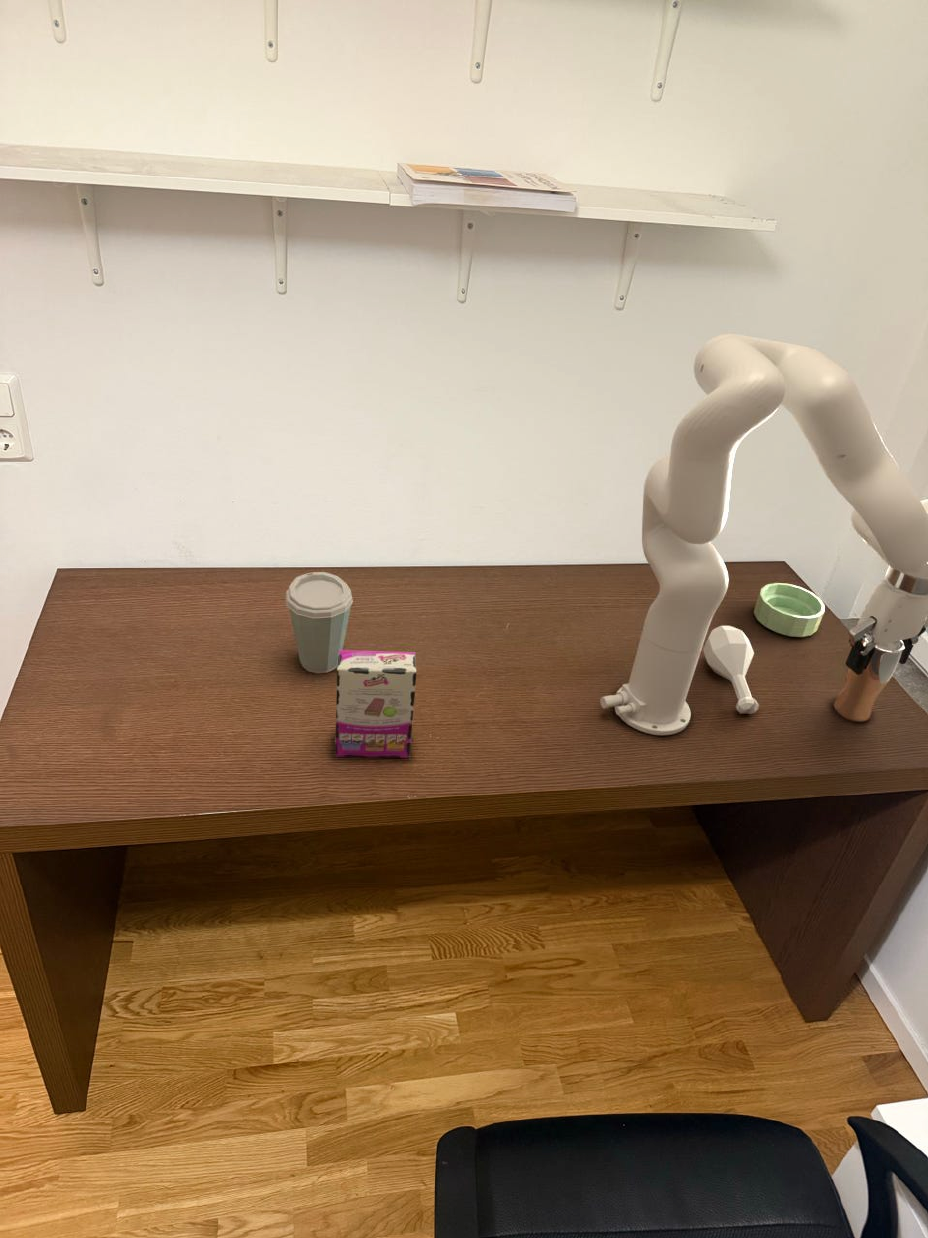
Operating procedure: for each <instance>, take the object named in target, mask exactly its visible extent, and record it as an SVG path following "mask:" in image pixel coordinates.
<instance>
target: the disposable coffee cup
mask: <svg viewBox="0 0 928 1238" xmlns="http://www.w3.org/2000/svg"><path fill="white" fill-rule="evenodd" d="M353 603H354V599H353V596H352V591H351V588H350V587H349V586H348V584H347V583H346V582H345V580H343V579H342V578H340V577H339V575H335V574H332V573H329V572H325V571H314V572H313V571H312V572H308V573H306V572H305V573H304V574H301V575H298V576H296V577H295V578H294V579H293V580H292V582H291V584H290V585H289V586H288V589H287V590H286V592H285V604H286V607H287V608H288V610H289V615H290V621H291V624H292V631H293V634H294V638H295V644H296V648H297V653H298V654H297V655H298V658H299V663H300V664H301V667H303V668H304V670H306V671H307V672H310V673H314V674H317V675H318V674H327V673H330V672H332V671H334V670H336V669H337V663H338V655H339V650H344V646H345V645H344V644H345V639H346V633H347V629H348V624H349V617H350V615H351V614H350V613H351V609H352V604H353Z"/></svg>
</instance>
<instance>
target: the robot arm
mask: <svg viewBox="0 0 928 1238" xmlns="http://www.w3.org/2000/svg"><path fill="white" fill-rule="evenodd" d="M693 375H694V378H695V380H696V383H697V385H698V386H699V387H700V389H701V391H703V392H704V393H705V394H706V396H704V397H703V398H701V400H700V401H698V402H697V403H696V404H695V405H694V406H693V407H692V408H691V409H690V410H689V411H688V412H687V413H686V414H685V415H684V416H683V417H682V418H681V420H680V421H679V423H678V424H677V426H676V428H675V430H674V433H673V435H672V439H671V444H670V452H669V453H667V454H664V455H662V456H661V457H660V458H659V459H657V460H656V461H655V463H654V464H653V465H652V466H651V468H650V469H649V471H648V472H647V475H646V478H645V480H644V484H643V485H644V486H643V493H642V494H643V495H642V516H641V517H642V519H641V520H642V521H641V546H642V547H641V548H642V551H643V555H644V557H645V559H646V561H647V563H648V565H649V567H650V569H651V570H652V572H653V573H654V576H655V579H656V580H657V583H658V586H659V591H658V594H657V597H656V598H655V599H654V601H653V602H652V603H651V605H650V606H649V608H648V610H647V613H646V615H645V619H644V623H643V627H642V630H641V634H640V638H639V639H640V640H639V642H638V646H637V650H636V653H635V657H634V661H633V664H632V668H631V672H630V675H629V679H628V683H623V684H622V686H621V687H620V688H619V689H618V690H617V691H616V693H615V694H610V695H604V696H601V697H600V699H599V704H600V706H601V708H602V709H603V710H605V709H609V708H614V712H615V714H616V715H617V716H618V717H619V718H620V719H621V720H622V721H623V722H624V723H626V724H627V725H628V726H629V727H631V728H633V729H635V730H637V731H640V732H642V733H645V734H649V735H653V736H670V735H675V734H678V733H680V732H682V731H684V730H685V729H686V728H687V726H688V725H689V723H690V720H691V715H692V712H691V708H690V707H689V704H688V703H687V701H686V700H687V697H688V694H689V691H690V687H691V684H692V682H693V678H694V675H695V671H696V669H697V665H698V662H699V659H700V656H701V652H702V651H703V648H704V643H705V640H706V637H707V634H708V631H709V628H710V625H711V622H712V621H713V618H714V616H715V614H716V612H717V610H718V608H719V607H720V605H721V603H722V601H724V598H725V596H726V594H727V591H728V588H729V573H728V570H727V566H726V564H725V561H724V560H723V558H722V556H721V554H719V552H718V551H717V549H716V548H715V546H714V545H713V544H712V541H713V540H715V539H716V538H717V537H718V536H719V535H720V534H721V533H722V531H723V529H724V527H725V525H726V523H727V519H728V513H729V504H730V493H731V492H730V491H731V485H732V484H731V483H732V482H731V481H732V473H733V464H734V459H735V455H736V451H737V448H738V447H739V445H740V443H741V442H742V441H743V440H744V438H745V437H747V435H748V434H750V433H751V432H752V431H754V430H755V429H757V428H758V427H759V426H761V425H762V424H764V423H765V422H766V421H768V420H769V419H770V418H771V417H772V416H773V415H774V414H775V413H776V412H777V410H778V409H779V408H780V407H781V406H782V407H783V408H784V409H786V410H787V411H788V412H789V413H790V414H791V415H792V417H793V418H794V420H795V421H796V423H797V425H798V426H799V428H800V431H801V432H802V434H803V436H804V438H805V439H806V441H807V442H808V445H809V446H810V448H811V449H812V452H813V454H814V456H815V457H816V460H817V462H818V464H819V466H820V468H821V469H822V471H823V473H824V475H825V477H826V478H827V479H828V480H829V481H830V483H831V485H832V486H833V487H834V488H835V489H836V491H837V493H839V494H840V495H841V496H842V497H843V498H844V499H845V501H847V503H849V505H850V506H851V507H852V510H851V514H850V523H851V526H852V528H853V530H854V531H855V533H856V534H857V535H858V536H859V538H860V539H861V540H862V541H864V543H865V544H866V545H867V546H868V547H869V548H871V550H873V551H874V553H876V554H877V556H878V557H879V558H880V559H881V560H882V561H883V562H884V563H885V564H886V565H887V566H888V569H887V571H886V574H885V576H884V579H883V580H881V581H880V582H879V584H878V585H877V586H876V588H875V589H874V590H873V593H872V594H871V596H870V598H869V600H868V601H867V603H866V605H865V607H864V609H863V611H862V613H861V616H860V618H859V620H858V622H857V624H856V626H854V627H852V628H851V629H850V630H848V636H849V637H848V638H849V639H848V643H849V644H850V647H851V648H850V651H849V653H848V656H847V658H846V660H845V666H846V667H847V668H848V667H849V668H850V669H851V670H852V671H853V672H855V673H856V674H857V675H860V674H862V672H863V670H864V667H865V665H866V663H867V660H868V658H869V655H868V654H867V653H868V652H869V651H871V650H872V649H873V648H874V647H875V646H876V645H877V644H887V643H891V642H896V641H900V640H901V641H902V642H903V644H904V649H903V651H902V654H901V657H900V660H899V663H898V664H901V665H905V664H907V661H908V659H909V657H910V654H911V652H912V650H913V648H914V645H916V644H917V643H918V642H919V637H921V635H923V634H924V633H925V632H926V630H927V628H926V627H928V499H924V500H921V499H920V498H919V496H918V494H917V493H916V492H915V489H914V488H913V487H912V485H911V484H910V482H909V480H907V478H906V476H905V475H904V472H903V471H902V470H901V468H900V466H899V464H898V463H897V461H896V460H895V458H894V456H893V455H892V453H891V452H890V451H889V449H888V448H887V446H886V444H885V443H884V440H883V439H882V437H881V434H880V433H879V430H878V428H877V427H876V424H875V422H874V420H873V417H872V415H871V413H870V412H869V410H868V407H867V405H866V403H865V401H864V399H863V396H862V394H861V392H860V390H859V388H858V387H857V384H856V382H855V380H854V379H853V378H852V376H851V375H850V374H849V372H847V371H846V370H845V369H844V368H843V367H841V365H839V364H838V363H836V362H834V360H832V359H831V358H829V357H828V356H826V354H824V353H822V352H821V351H819V350H818V349H815V348H812V347H810V346H805V345H800V344H794V343H789V342H783V341H778V340H773V339H767V338H761V337H756V336H751V335H745V334H740V333H739V334H738V333H724V334H720V335H716V336H715V337H713V338H710V340H708V341H706V342H705V343H704V344H703V345H702V346H701V347H700V349H699V350H698V351H697V353H696V356H695V358H694V363H693ZM871 631H872V632H873V636H874V637H875V638H873V637H872V636H871V635H869V633H870V632H871ZM865 638H867V639H869V640H870V642H869V643H868V644H867V645H866V646H864V645H863V643H862V641H863V640H864V639H865Z"/></svg>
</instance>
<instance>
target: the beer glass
mask: <svg viewBox="0 0 928 1238" xmlns="http://www.w3.org/2000/svg"><path fill="white" fill-rule="evenodd" d="M869 635H871V636H872V637H873V638H875V637H874V636H873V632H872V631H871V632H870V633H869ZM869 642H870V640H869V639H867V638H865V639H864V640H863V641H862V643H863V645H864V646H866V645H867V644H868V643H869ZM903 649H904V644H903V642H902V641H901V640H900V641H896V642H891V643H887V644H877V645H876V646H875V647H874V648H873V649H872V650H871V651H869V652H868V653H867V654H868V655H869V658H868V660H867V663H866V665H865V667H864V670H863V672H862V674H860V675H857V674H856V673H855V672H853V671H852V670H851V669H850V668H849V667H847V671H846V677H845V682H844V685H843V688H842V690H841V692H840V693H839V695H838V696H837V698H836V699H835V700H834V703H833V708H834V710H835V711H836V712H837V713H838V714H839V715H840V716H841V717H843V718H845V719H846V720H850V721H852V722H857V723H859V722H860V723H861V722H866V721H868V720H869V719H870V718H871V715H872V711H873V706H874V703H875V701H876V699H877V697H878V696H879V695H880V693H881V692H882V691H883V689H885V687H886V686H887V685H888V684H889V682H890V680H891V679H892V677H893V675H894V674H895V672H896V669H897V668H898V665H899V664H900V663H899V660H900V657H901V654H902V651H903Z"/></svg>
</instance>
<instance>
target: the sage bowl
mask: <svg viewBox="0 0 928 1238" xmlns="http://www.w3.org/2000/svg"><path fill="white" fill-rule="evenodd" d="M825 608H826V607H825V604H824V602H823V601H822V600H821V597H818V596H817V595H816V594H815V593H813V592H812V591H810V590H807V589H805V588H803V587H801V586H798V585H794V584H791V583H784V582H773V583H767V584H766V585H764V586H763V587H761V588H760V590H759V594H758V597H757V599H756V602H755V605H754V609H753V614H754V616H755V618H756V620H757V621H758V622H759V623H760V624H761V625H763V626H764V627H765V628H767V629H769V630H771V631H773V632H775V633H776V634H780V635H784V636H787V637H795V638H796V637H797V638H805V637H808V636H812V635H813V634H814V633H816V632H817V631H818V630H819V627H820V624H821V621H822V619H823V616H824V614H825Z"/></svg>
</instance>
